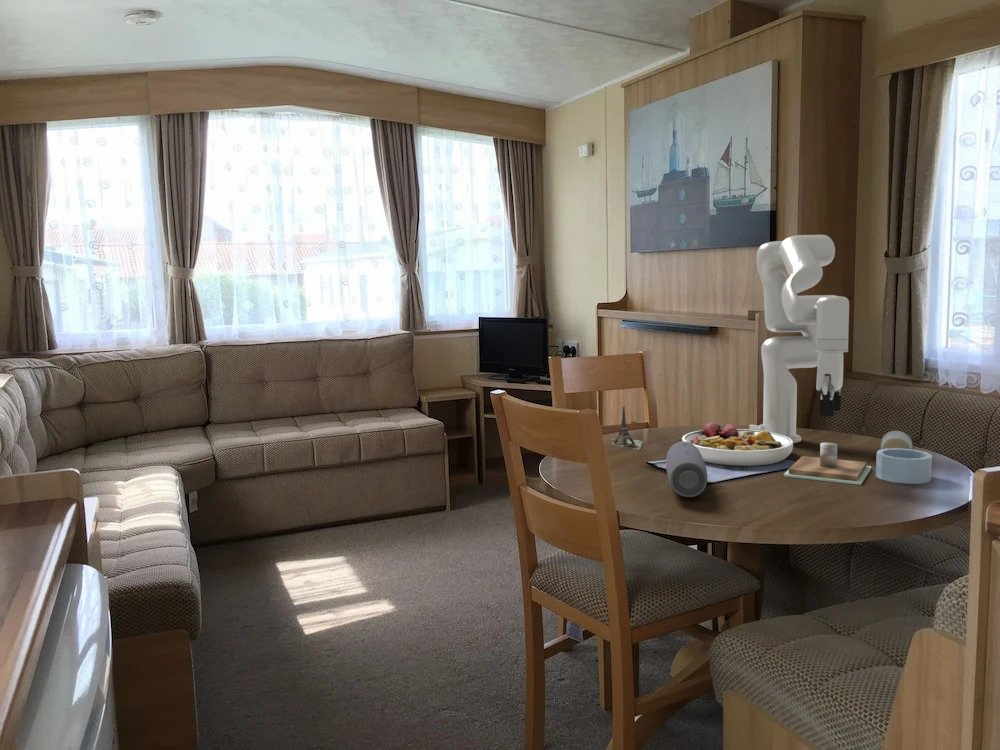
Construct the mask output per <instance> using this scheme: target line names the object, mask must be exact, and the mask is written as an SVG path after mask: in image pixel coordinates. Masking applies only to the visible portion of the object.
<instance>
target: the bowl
mask: <svg viewBox="0 0 1000 750" xmlns="http://www.w3.org/2000/svg"><path fill="white" fill-rule="evenodd" d="M681 437H682V438H681V440H682V441H685V442H689V443H692V444H693V445H694V446H696V447H697V449H698V450H699V451H700V453H701V455H702V457H703V459H704V462H705V463H709V464H714V465H721V466H722V465H723V466H731V467H733V466H734V467H735V466H736V467H758V466H765V465H773V464H777V463H779V462H782V461H784V460H785V459H787V458H788V457H789V456H790V455H791V453H792V452H793V449H794V443H793V441H792V439H790V438H789V437H786V436H784V435H780V434H776V433H772V432H769V431H768V432H767V431H758V430H749V429H747V428H746V429H745V428H744V429H742V428H737V427H736V426H735V425H734V424H731V423H728V424H725V425H724V426H723V427H721V425H720V423H718V422H716V421H710V422H707V423H705V424H704V425H703V428H702V430H696V431H691V432H689V433H686V434H684V435H683V436H681Z"/></svg>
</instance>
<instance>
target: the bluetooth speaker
mask: <svg viewBox="0 0 1000 750" xmlns="http://www.w3.org/2000/svg"><path fill="white" fill-rule="evenodd" d="M665 469H666V470H665V471H666V473H667V474H666V475H667V478H668V479H667V480H668V481H669V485H670V486H671V488H672V489H673V491H674V492H675V493H677V495H679V496H681V497H685V498H694V497H697V496H699V495H700V494H702V493H703V492H704V491H705V489H706V487H707V483H708V472H707V471H708V470H707V467H706V462H704V459H703V457H702V455H701V453H700V451H699V450H698V449H697V447H696V446H694V445H693V444H692V443H689V442H685V441H677V442H675V443H673V444H672V445H671V446H670V447H669V449H668V451H667V453H666V456H665Z"/></svg>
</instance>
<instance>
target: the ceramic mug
mask: <svg viewBox="0 0 1000 750" xmlns="http://www.w3.org/2000/svg"><path fill="white" fill-rule="evenodd" d="M891 448H901V449H913V442H912V439H911V437H910V436H909V435H908V434H906V433H905V432H904V431H900V430H891V431H888V432H886V433H884V435H883V436H882V439H881V441H880V450H882V449H891Z"/></svg>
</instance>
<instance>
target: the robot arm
mask: <svg viewBox="0 0 1000 750" xmlns="http://www.w3.org/2000/svg"><path fill="white" fill-rule="evenodd" d="M835 255H836V247H835V244H834V241H833V240H832V238H831V237H829V236H828V235H826V234H798V235H792V236H789V237H786V238H785V239H784V240H775V241H774V240H773V241H770V242H769V241H768V242H765V243H763V244H761V245H760V246H759V248H758V249H757V252H756V268H757V272H758V276H759V277H760V281H761V284H762V288H763V301H764V302H763V307H764V320H765V321H764V322H765V327H766V329H767V330H768V331H770V332H772V333H801V334H802V335H800V336H792V335H791V336H790V335H789V336H788V335H787V336H773V337H770V338H767V339H766V340H764V342H762V344H761V347H760V354H761V361H762V368H763V370H762V371H763V403H762V407H763V409H762V411H763V413H762V417H763V418H762V420H763V421H762V423H761V424H759V425H758V424H757V425H756V424H749V426H748V430H758V431H767V432H768V431H769V432H772V433H776V434H780V435H784V436H786V437H789V438H790V439H792V441H793V444H797V443H800V442H801V441H802V436H800V435H798V434H797V409H798V408H797V405H798V403H797V401H798V400H797V399H798V398H797V397H798V396H797V395H798V384H797V380H796V379H795V377H794V376H793V374H792V372H790V370H789V369H807V368H812V369H813V368H816V367H817V368H816V384H815V385H816V386H815V388H816V391H818V392H820V391H821V392H820V399H819V416H821V417H834V416H835V412H836V411H839V412H840V411H841V409H842V395H841V394H842V393H841V389H842V387H843V384H844V383H843V382H844V359H845V358H844V353H848V352H849V326H850V325H849V323H850V320H849V319H850V300H849V299H848V298H847V297H845V296H839V295H836V294H823V295H822V294H817V295H815V294H814V295H813V294H812V295H810V294H809V295H806V294H805V295H798V294H799V293H800V294H801V293H802V292H804V291H806V290H809V289H811V288H813V287H814V286H816V285H817V284H818V283H819V282H820V281H821V280H822V277H823V275H824V271H823V268H822V267H826V266H828V265H830V264H831V263H832V261H834V258H835ZM783 270H785V271H786V272H787V274H786V273H785V272H783Z"/></svg>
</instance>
